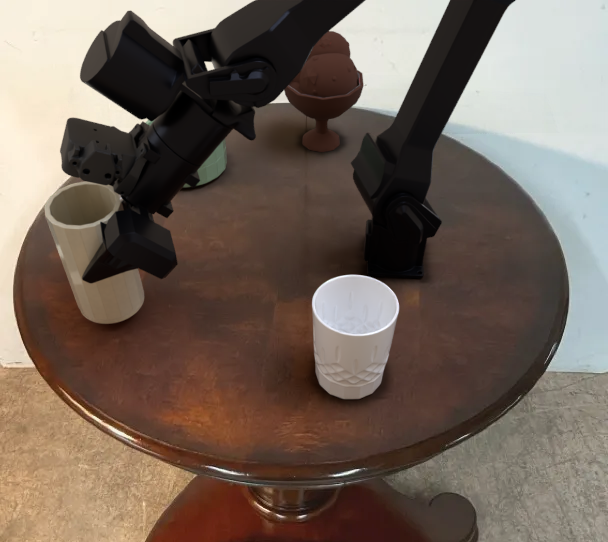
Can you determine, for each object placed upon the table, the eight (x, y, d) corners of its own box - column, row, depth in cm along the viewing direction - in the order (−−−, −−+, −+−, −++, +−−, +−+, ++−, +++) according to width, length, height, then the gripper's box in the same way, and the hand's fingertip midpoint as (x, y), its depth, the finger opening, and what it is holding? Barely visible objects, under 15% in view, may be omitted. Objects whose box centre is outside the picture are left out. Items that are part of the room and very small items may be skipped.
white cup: (382, 411, 67) (393, 341, 60) (303, 397, 68) (304, 327, 61) (392, 351, 72) (403, 280, 65) (318, 339, 73) (320, 269, 66)
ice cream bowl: (273, 128, 101) (271, 24, 90) (345, 117, 104) (351, 14, 93) (294, 167, 95) (294, 61, 84) (370, 154, 97) (380, 49, 86)
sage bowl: (232, 146, 98) (229, 111, 94) (220, 193, 90) (216, 156, 86) (155, 143, 98) (149, 107, 94) (137, 189, 91) (130, 152, 87)
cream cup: (151, 279, 77) (128, 183, 67) (135, 326, 72) (109, 230, 62) (89, 275, 77) (58, 179, 67) (70, 321, 73) (33, 226, 63)
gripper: (92, 44, 64) (6, 165, 70) (113, 152, 52) (6, 287, 58) (187, 110, 71) (101, 215, 77) (224, 218, 59) (119, 332, 65)
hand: (83, 256), depth 69 cm, fingers closed on cream cup, 7 cm apart
